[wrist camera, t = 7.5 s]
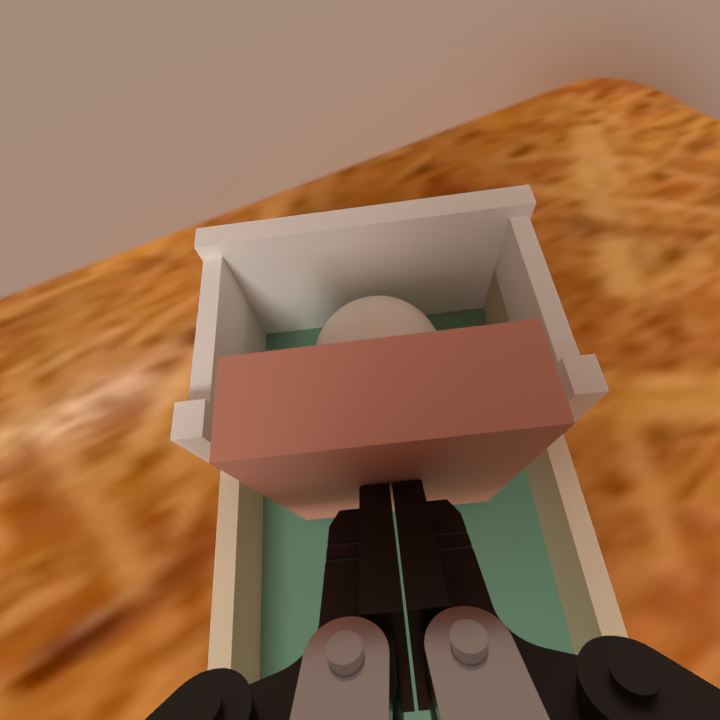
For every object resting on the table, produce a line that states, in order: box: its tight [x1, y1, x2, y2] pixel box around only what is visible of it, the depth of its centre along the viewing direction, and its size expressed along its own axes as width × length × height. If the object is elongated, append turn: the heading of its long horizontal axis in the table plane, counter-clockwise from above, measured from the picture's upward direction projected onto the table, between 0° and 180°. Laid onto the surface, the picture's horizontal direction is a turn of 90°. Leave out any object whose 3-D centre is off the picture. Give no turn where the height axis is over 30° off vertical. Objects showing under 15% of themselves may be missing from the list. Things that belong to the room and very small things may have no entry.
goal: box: [170, 184, 609, 463], centre depth 14 cm, size 7×11×6 cm, turn 95°
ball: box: [316, 296, 436, 345], centre depth 15 cm, size 4×4×4 cm
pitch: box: [208, 270, 628, 720], centre depth 13 cm, size 20×11×4 cm, turn 5°
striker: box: [209, 319, 575, 520], centre depth 11 cm, size 2×6×8 cm, turn 95°
